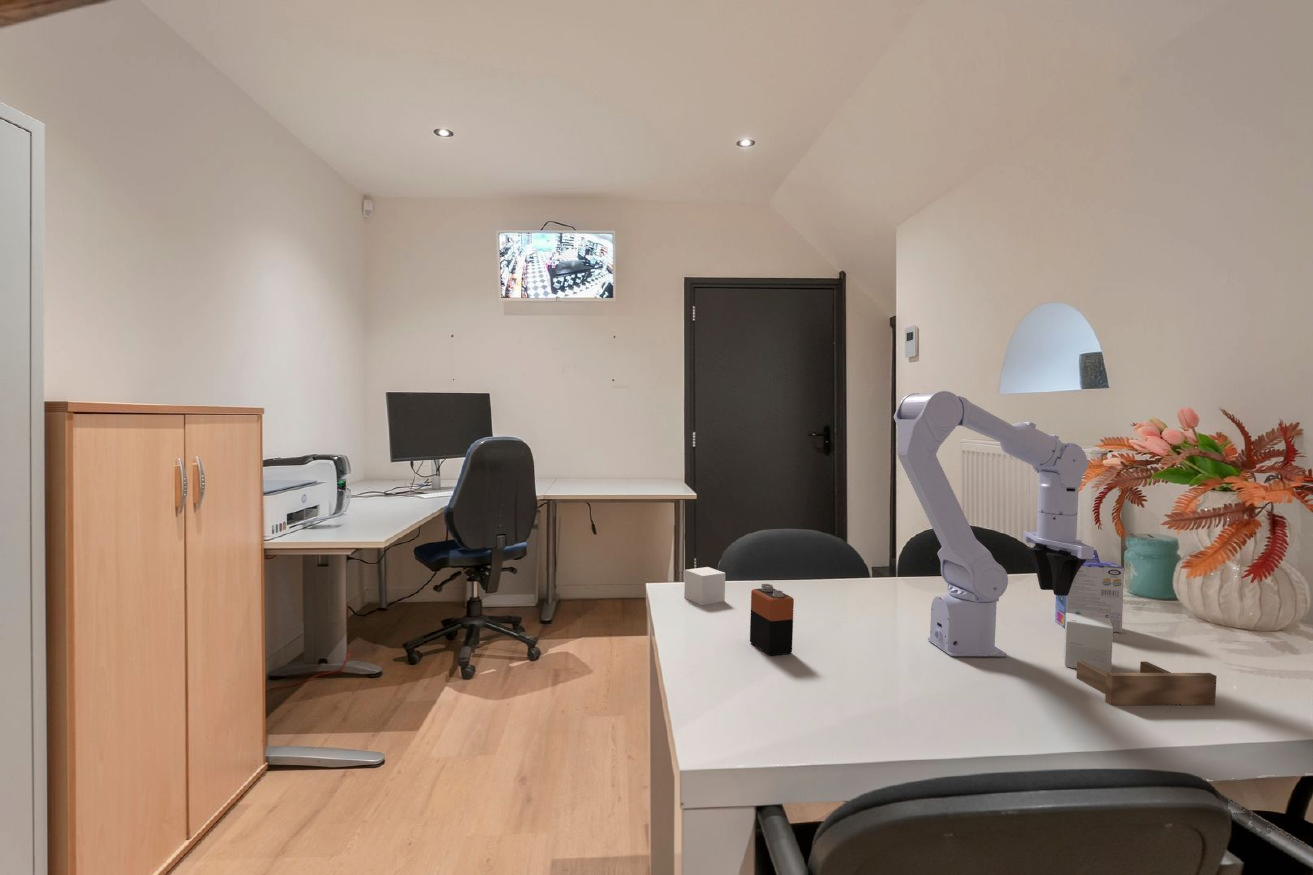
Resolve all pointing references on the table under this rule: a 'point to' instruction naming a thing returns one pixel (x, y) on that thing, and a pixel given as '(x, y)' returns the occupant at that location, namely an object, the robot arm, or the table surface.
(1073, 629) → the product box
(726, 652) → the table surface
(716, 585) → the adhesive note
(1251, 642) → the table surface
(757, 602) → the battery
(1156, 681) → the walnut holder
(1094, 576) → the ink cartridge box
